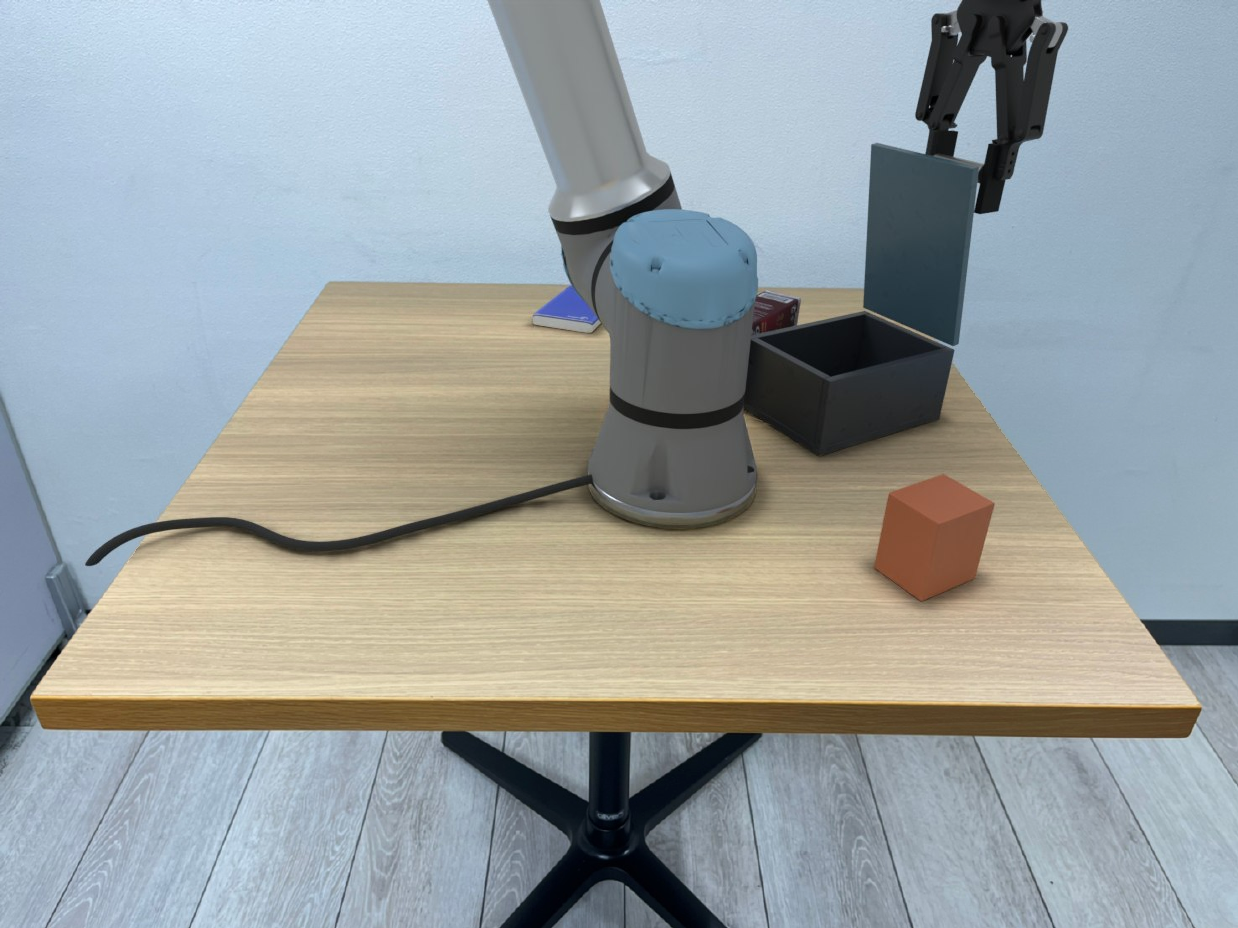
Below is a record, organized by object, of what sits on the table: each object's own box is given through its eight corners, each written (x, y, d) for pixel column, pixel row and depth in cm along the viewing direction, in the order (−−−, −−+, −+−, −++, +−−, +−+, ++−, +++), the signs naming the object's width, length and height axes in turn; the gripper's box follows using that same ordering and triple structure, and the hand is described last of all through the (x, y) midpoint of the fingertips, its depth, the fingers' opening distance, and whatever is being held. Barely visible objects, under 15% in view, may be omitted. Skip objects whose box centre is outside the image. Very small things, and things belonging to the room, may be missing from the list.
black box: (818, 456, 88) (830, 381, 84) (738, 405, 98) (745, 336, 94) (939, 419, 96) (955, 349, 92) (854, 375, 106) (865, 310, 102)
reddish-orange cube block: (921, 601, 69) (939, 524, 65) (873, 567, 72) (888, 492, 69) (975, 578, 72) (995, 502, 68) (926, 546, 75) (943, 473, 72)
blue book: (592, 321, 114) (624, 292, 125) (532, 313, 116) (568, 284, 127) (592, 333, 115) (623, 303, 125) (532, 324, 117) (568, 295, 128)
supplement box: (795, 366, 107) (724, 413, 96) (759, 355, 110) (686, 400, 99) (804, 296, 103) (731, 337, 92) (766, 286, 106) (691, 326, 95)
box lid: (973, 168, 82) (1023, 152, 84) (871, 144, 91) (918, 129, 94) (953, 346, 92) (998, 326, 94) (862, 307, 101) (906, 290, 104)
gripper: (1138, -56, 76) (1064, 222, 87) (957, -58, 90) (915, 182, 101) (1081, -59, 72) (1012, 231, 84) (903, -60, 86) (865, 188, 98)
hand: (959, 204), depth 92 cm, fingers closed on box lid, 6 cm apart
